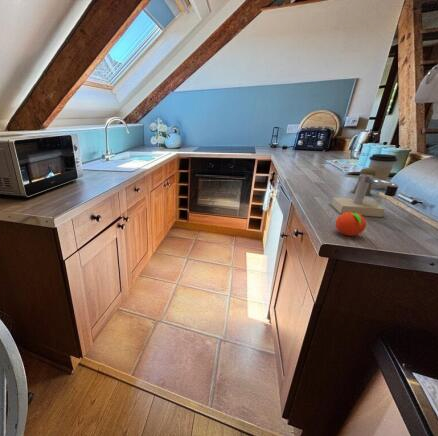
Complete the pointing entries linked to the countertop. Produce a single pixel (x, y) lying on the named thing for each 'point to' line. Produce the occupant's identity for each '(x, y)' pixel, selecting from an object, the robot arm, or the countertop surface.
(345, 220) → the clementine
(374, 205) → the base
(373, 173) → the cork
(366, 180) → the spout
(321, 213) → the countertop surface
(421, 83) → the robot arm
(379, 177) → the coffee cup
